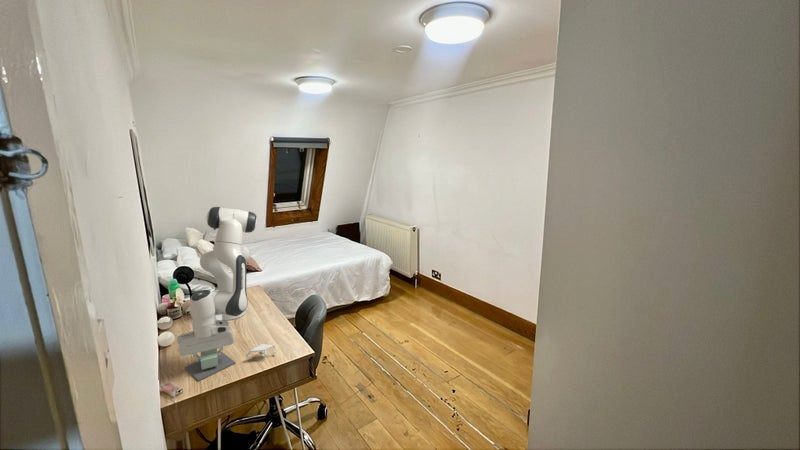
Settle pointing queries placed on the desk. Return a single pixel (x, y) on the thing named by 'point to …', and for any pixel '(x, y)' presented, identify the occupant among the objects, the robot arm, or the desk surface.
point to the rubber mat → (201, 374)
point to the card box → (209, 358)
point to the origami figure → (262, 349)
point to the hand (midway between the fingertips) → (209, 358)
